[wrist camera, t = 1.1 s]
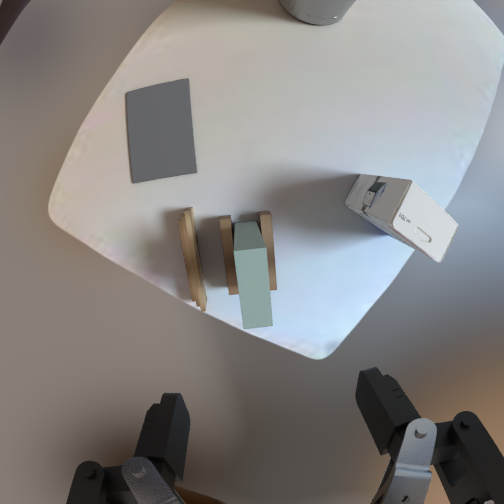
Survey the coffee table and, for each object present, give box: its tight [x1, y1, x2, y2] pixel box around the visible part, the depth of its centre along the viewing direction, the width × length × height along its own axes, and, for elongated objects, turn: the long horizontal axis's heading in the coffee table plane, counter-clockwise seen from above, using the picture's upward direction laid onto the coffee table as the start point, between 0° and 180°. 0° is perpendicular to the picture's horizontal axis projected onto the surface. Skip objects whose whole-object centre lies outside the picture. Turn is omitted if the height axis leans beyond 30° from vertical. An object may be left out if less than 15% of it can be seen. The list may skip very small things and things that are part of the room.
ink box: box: [344, 174, 459, 263], centre depth 27 cm, size 9×5×12 cm, turn 62°
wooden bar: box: [178, 207, 207, 312], centre depth 32 cm, size 12×2×4 cm, turn 6°
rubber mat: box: [127, 78, 197, 183], centre depth 28 cm, size 12×8×1 cm, turn 6°
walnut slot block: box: [219, 211, 277, 295], centre depth 32 cm, size 9×6×2 cm, turn 6°
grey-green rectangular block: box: [234, 221, 273, 329], centre depth 28 cm, size 7×2×12 cm, turn 6°
